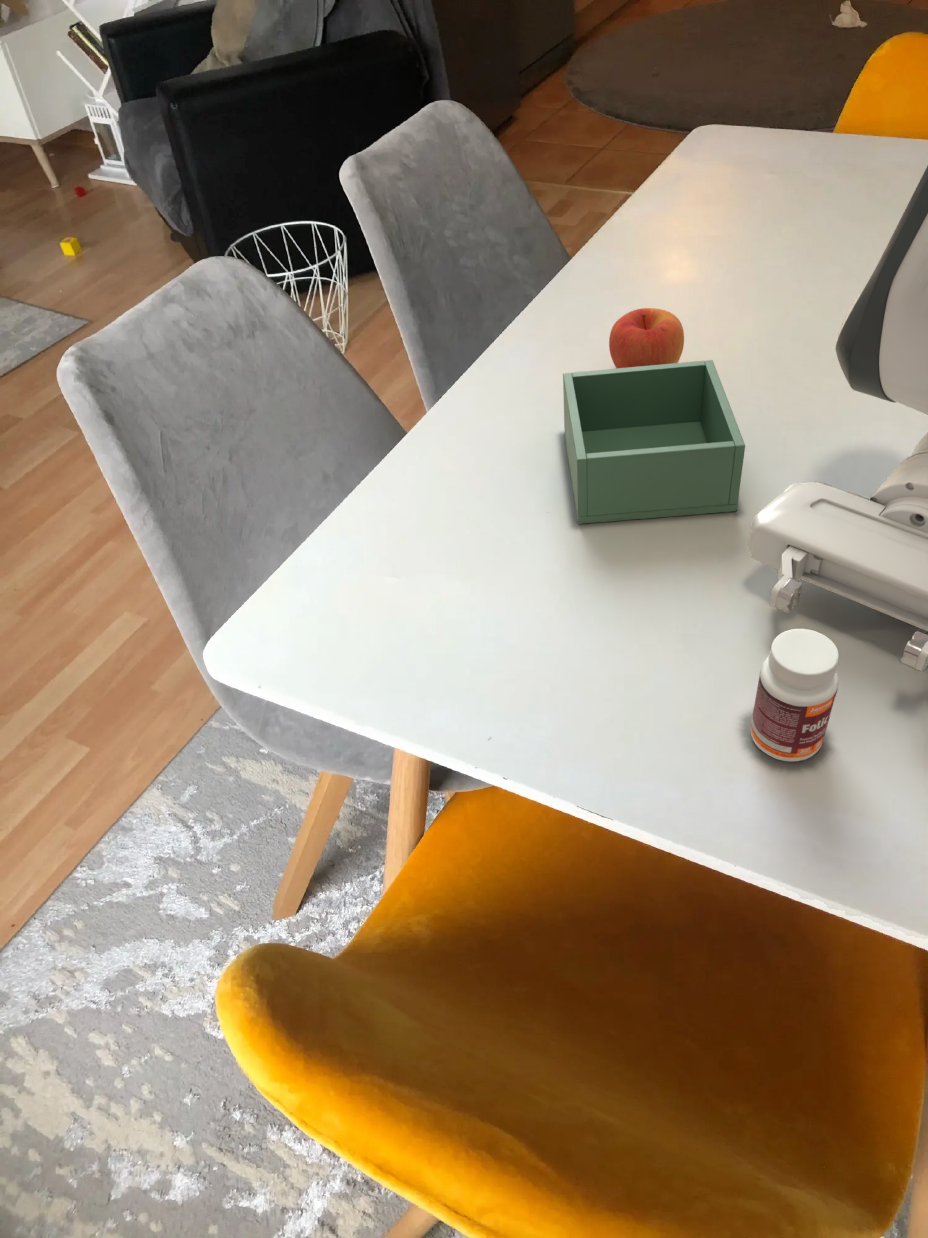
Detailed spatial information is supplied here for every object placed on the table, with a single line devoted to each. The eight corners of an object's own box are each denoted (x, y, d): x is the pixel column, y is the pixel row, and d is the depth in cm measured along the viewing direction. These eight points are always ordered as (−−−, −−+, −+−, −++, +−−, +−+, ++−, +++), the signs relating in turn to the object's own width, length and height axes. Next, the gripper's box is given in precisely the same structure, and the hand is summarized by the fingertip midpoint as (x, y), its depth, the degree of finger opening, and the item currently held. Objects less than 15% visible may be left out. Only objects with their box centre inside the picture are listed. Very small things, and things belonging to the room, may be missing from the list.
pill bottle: (805, 775, 63) (827, 691, 57) (737, 743, 65) (751, 659, 59) (834, 727, 65) (858, 641, 59) (768, 698, 67) (784, 613, 62)
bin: (706, 423, 92) (712, 359, 87) (736, 511, 82) (745, 445, 77) (564, 435, 93) (562, 373, 88) (578, 524, 83) (577, 459, 78)
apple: (685, 362, 100) (690, 289, 94) (676, 400, 95) (681, 326, 89) (615, 358, 102) (616, 287, 96) (603, 396, 97) (603, 323, 91)
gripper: (804, 443, 75) (711, 538, 68) (1090, 539, 64) (1013, 663, 57) (793, 507, 79) (704, 602, 72) (1058, 607, 69) (984, 729, 62)
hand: (843, 630), depth 65 cm, fingers open, 8 cm apart
